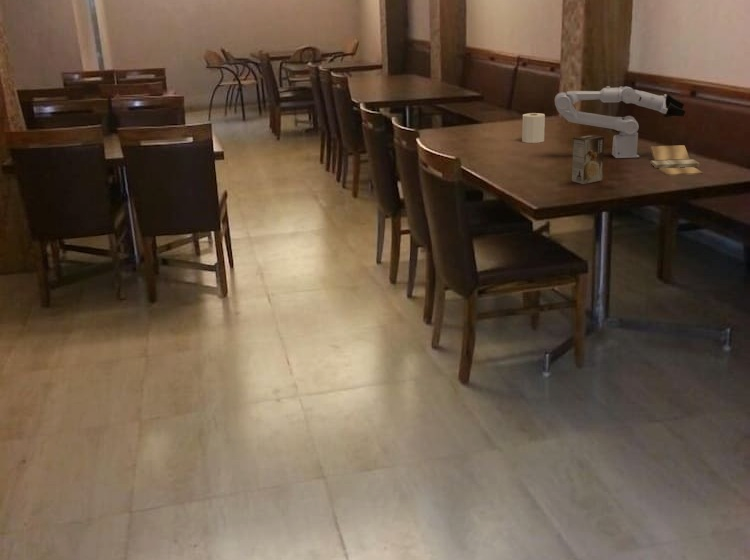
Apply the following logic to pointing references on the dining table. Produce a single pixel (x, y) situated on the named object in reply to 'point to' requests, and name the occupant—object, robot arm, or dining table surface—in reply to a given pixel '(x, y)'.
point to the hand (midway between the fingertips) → (683, 110)
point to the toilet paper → (533, 127)
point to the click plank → (669, 152)
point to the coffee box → (587, 159)
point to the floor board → (675, 163)
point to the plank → (680, 171)
